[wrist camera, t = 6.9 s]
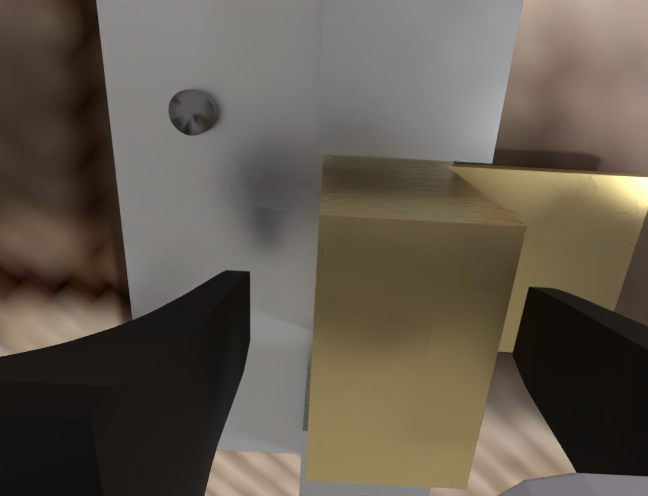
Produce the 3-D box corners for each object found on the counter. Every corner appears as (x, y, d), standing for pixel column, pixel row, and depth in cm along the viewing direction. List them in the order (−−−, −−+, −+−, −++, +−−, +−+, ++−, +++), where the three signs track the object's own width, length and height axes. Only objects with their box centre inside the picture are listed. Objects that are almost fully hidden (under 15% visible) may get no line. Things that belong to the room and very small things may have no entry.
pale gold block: (644, 173, 13) (877, 245, 8) (589, 346, 15) (739, 502, 10) (323, 155, 13) (319, 215, 7) (313, 332, 15) (305, 481, 10)
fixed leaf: (472, -8, 12) (531, -42, 9) (402, 443, 18) (421, 533, 14) (106, -31, 12) (14, -75, 9) (154, 430, 18) (111, 518, 14)
